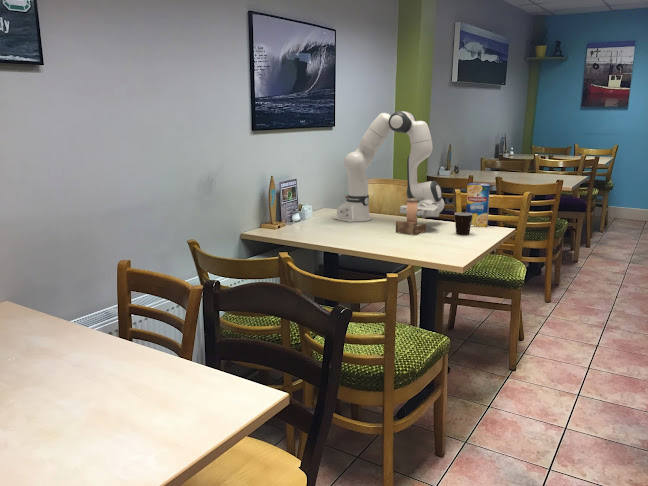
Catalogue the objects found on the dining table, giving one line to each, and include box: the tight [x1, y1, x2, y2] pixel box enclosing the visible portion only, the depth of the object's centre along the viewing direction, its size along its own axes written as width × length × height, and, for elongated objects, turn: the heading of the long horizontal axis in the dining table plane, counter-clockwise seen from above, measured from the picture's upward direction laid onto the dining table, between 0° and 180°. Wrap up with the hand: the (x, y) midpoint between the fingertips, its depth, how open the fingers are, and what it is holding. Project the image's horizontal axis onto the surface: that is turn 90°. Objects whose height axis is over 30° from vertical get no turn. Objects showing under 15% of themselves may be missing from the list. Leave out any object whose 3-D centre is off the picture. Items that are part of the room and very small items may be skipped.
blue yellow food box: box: [465, 182, 491, 228], centre depth 286 cm, size 7×11×22 cm, turn 70°
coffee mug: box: [454, 212, 473, 236], centre depth 267 cm, size 12×9×10 cm
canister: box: [406, 197, 418, 224], centre depth 274 cm, size 6×6×15 cm
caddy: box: [395, 220, 427, 236], centre depth 274 cm, size 11×10×6 cm
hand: (411, 212), depth 273 cm, fingers closed on canister, 5 cm apart
